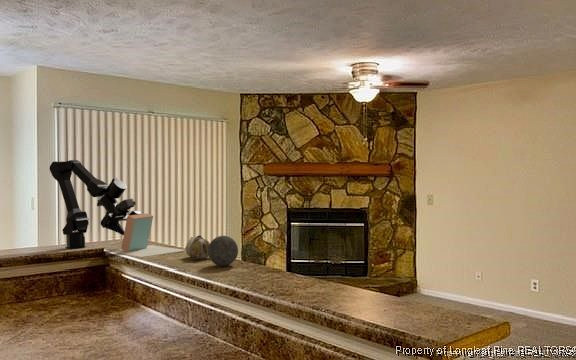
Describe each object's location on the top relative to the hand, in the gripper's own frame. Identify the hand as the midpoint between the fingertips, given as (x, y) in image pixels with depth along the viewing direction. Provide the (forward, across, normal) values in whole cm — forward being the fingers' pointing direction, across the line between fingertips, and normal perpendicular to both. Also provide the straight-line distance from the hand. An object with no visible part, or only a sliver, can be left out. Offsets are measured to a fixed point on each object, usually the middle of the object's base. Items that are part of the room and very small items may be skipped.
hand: (133, 233), depth 211 cm
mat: (+10, 0, +1) cm, 10 cm away
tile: (+5, 0, +4) cm, 6 cm away
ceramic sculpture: (+32, -6, -21) cm, 38 cm away
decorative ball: (+44, -16, -32) cm, 57 cm away
